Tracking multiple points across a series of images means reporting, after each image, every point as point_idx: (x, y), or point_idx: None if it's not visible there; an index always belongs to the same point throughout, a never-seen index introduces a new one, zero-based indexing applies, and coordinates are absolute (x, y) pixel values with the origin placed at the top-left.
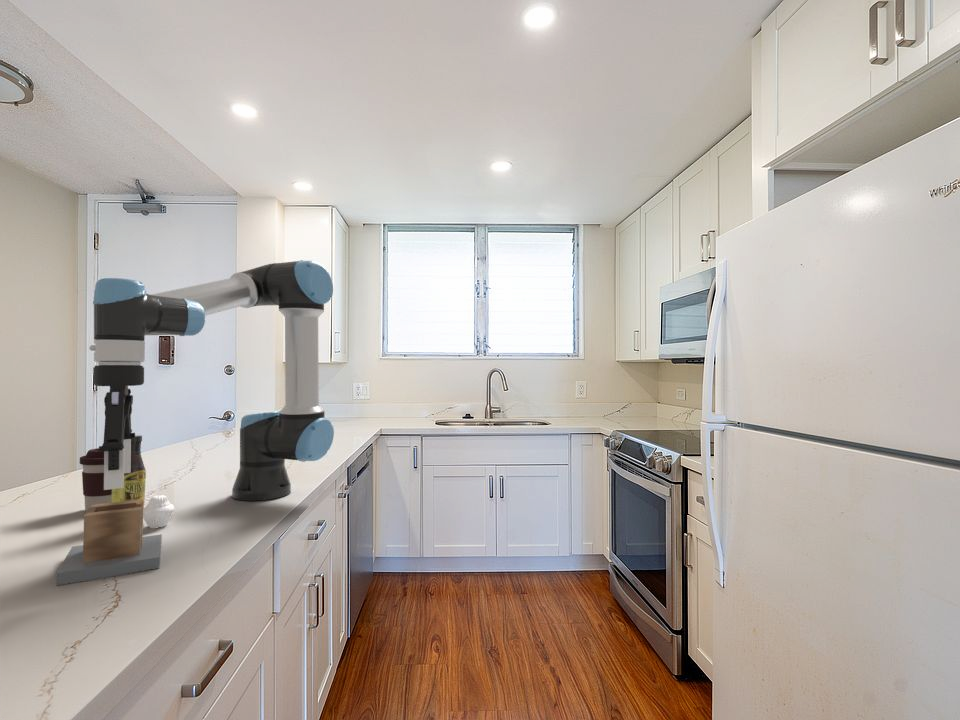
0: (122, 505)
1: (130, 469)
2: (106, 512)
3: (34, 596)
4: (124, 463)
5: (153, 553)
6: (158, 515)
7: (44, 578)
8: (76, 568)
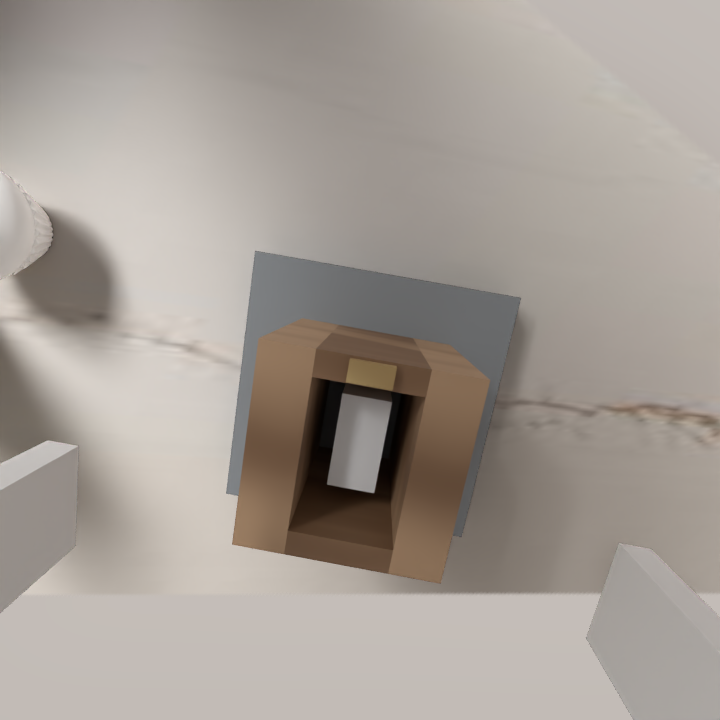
0: (302, 431)
1: (37, 451)
2: (437, 508)
3: (495, 554)
4: (4, 530)
5: (468, 307)
6: (31, 229)
7: None
8: None
